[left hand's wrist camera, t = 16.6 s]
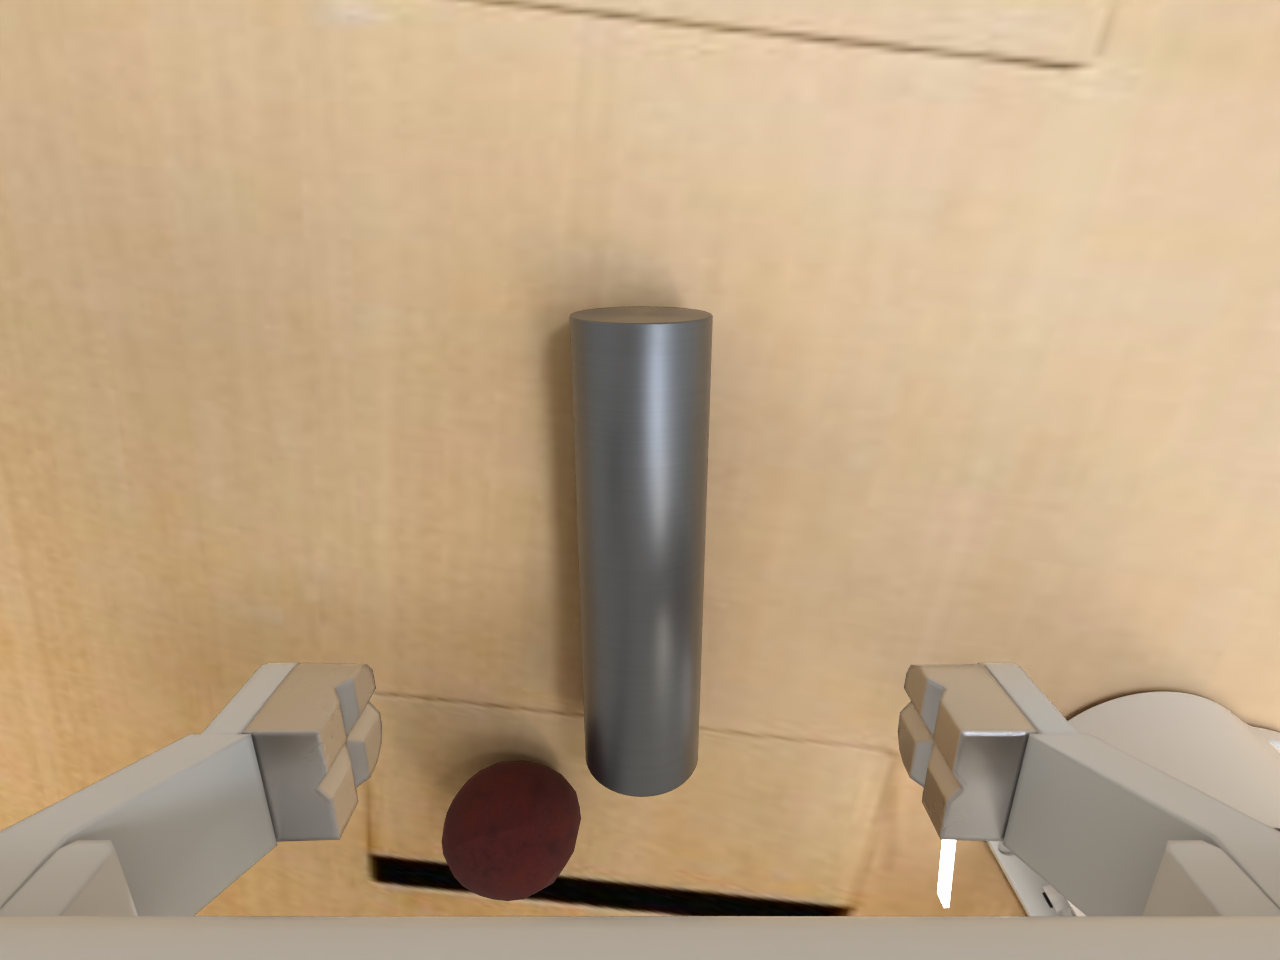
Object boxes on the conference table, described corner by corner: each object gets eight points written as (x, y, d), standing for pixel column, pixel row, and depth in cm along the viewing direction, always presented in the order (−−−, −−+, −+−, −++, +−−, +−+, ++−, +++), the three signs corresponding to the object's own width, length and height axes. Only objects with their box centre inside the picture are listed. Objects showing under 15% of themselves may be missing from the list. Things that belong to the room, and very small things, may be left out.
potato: (440, 755, 42) (402, 854, 35) (558, 717, 41) (542, 812, 34) (492, 840, 44) (466, 949, 38) (604, 807, 43) (598, 912, 37)
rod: (576, 306, 33) (561, 323, 27) (706, 306, 33) (719, 323, 27) (590, 716, 41) (581, 797, 35) (694, 716, 41) (701, 797, 35)
